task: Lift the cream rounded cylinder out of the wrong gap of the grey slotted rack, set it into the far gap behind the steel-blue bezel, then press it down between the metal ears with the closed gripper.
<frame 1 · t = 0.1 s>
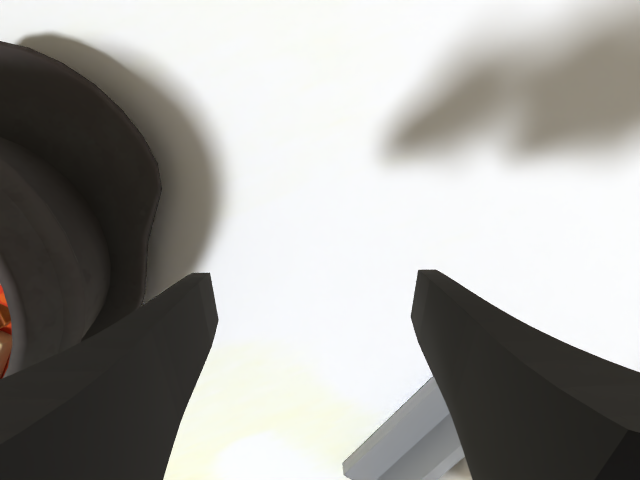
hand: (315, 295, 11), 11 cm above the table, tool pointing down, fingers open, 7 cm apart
casserole: (24, 243, 21), on the table
cream rounded cylinder: (455, 458, 26), point 1 cm above the table, touching grey slotted rack
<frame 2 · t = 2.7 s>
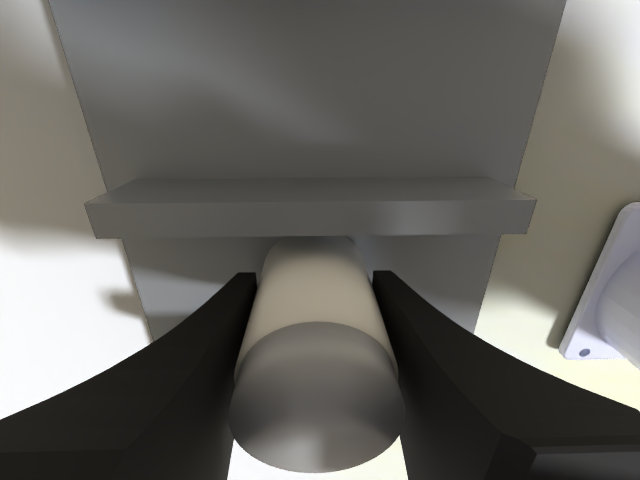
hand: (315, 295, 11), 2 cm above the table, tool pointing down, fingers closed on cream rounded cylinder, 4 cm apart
grey slotted rack: (312, 86, 10), on the table
cream rounded cylinder: (314, 274, 12), point 1 cm above the table, touching grey slotted rack, gripper
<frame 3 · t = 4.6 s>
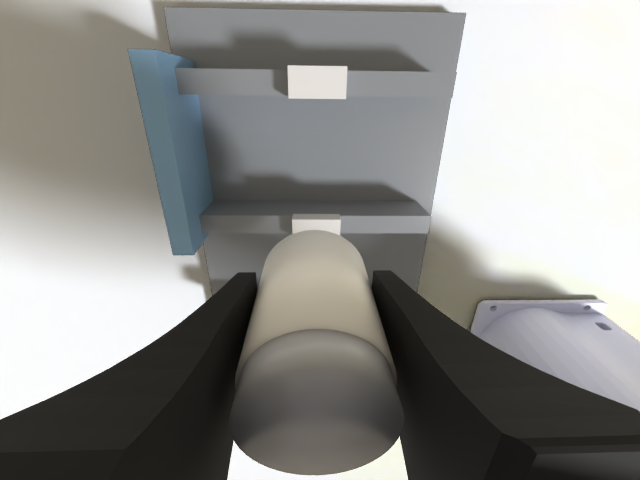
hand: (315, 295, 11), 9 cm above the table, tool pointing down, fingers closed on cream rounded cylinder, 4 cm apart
grey slotted rack: (315, 250, 21), on the table
cream rounded cylinder: (314, 276, 12), point 8 cm above the table, touching gripper
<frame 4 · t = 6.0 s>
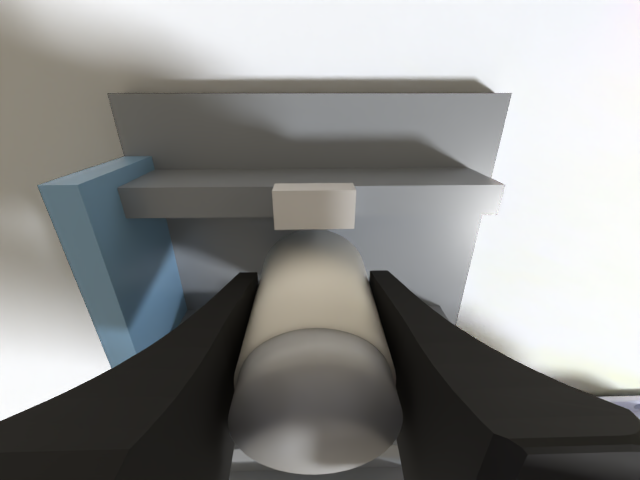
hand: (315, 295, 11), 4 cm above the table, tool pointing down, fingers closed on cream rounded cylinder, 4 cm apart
grey slotted rack: (315, 351, 17), on the table
cream rounded cylinder: (313, 275, 12), point 2 cm above the table, touching gripper
when the fingers open (4 cm above the table, at t = 6.3 s): cream rounded cylinder drops 1 cm, resting on grey slotted rack.
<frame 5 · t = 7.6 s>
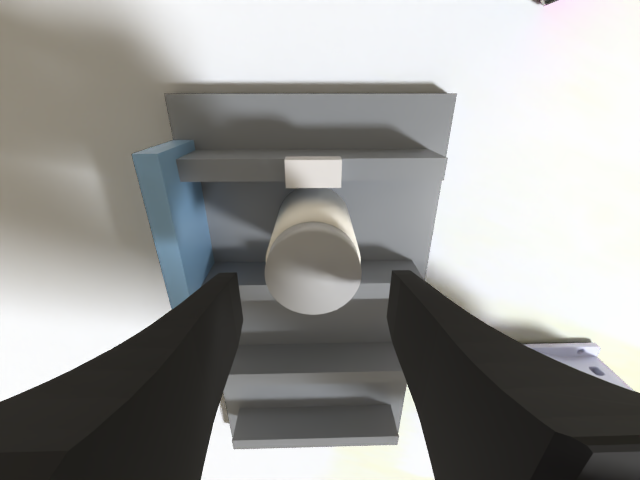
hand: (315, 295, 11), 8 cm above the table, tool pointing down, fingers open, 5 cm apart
grey slotted rack: (314, 302, 21), on the table
cream rounded cylinder: (313, 219, 17), point 1 cm above the table, touching grey slotted rack
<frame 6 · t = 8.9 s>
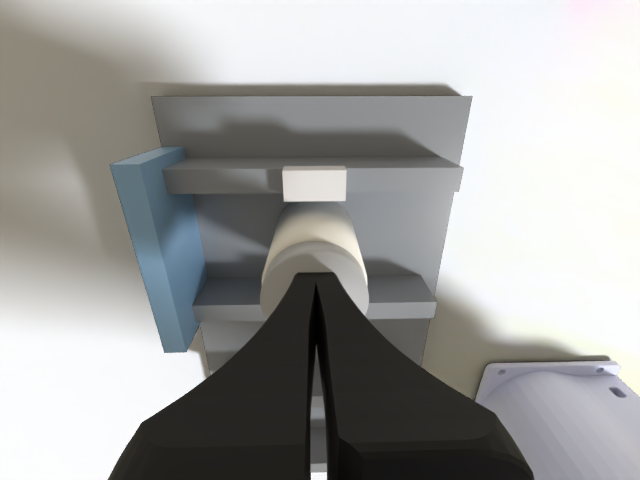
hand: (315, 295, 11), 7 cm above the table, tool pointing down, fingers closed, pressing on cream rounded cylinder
grey slotted rack: (315, 318, 20), on the table
cream rounded cylinder: (314, 232, 16), point 1 cm above the table, touching grey slotted rack, gripper
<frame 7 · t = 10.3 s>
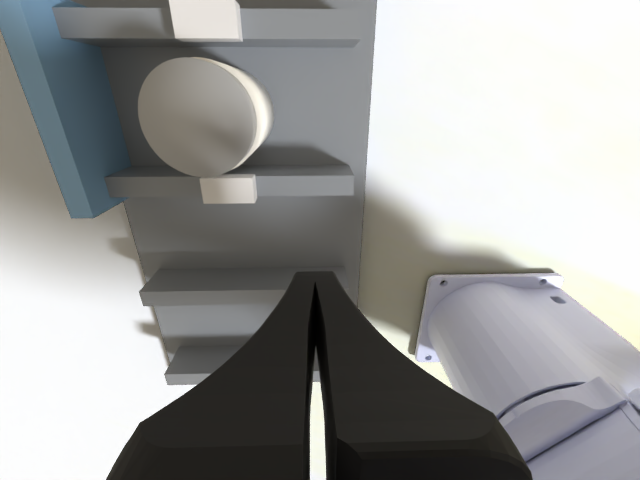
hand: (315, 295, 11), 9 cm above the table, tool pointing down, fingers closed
grey slotted rack: (250, 222, 20), on the table
cream rounded cylinder: (235, 112, 16), point 1 cm above the table, touching grey slotted rack
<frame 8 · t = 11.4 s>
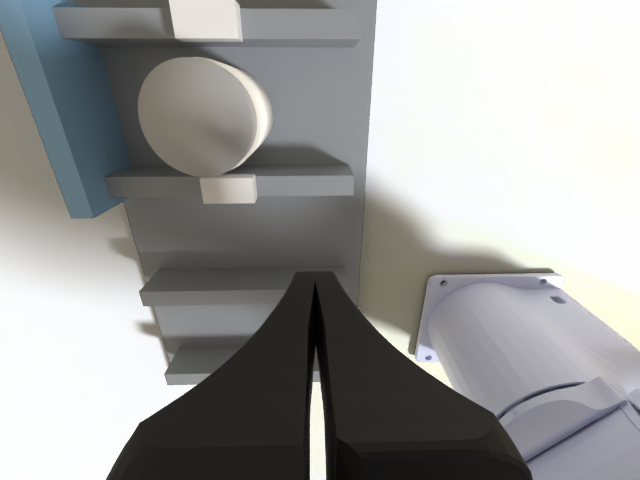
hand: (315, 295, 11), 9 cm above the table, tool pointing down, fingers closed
grey slotted rack: (250, 222, 20), on the table
cream rounded cylinder: (235, 112, 16), point 1 cm above the table, touching grey slotted rack
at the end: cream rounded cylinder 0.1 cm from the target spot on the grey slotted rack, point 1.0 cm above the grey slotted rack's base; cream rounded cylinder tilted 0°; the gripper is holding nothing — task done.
